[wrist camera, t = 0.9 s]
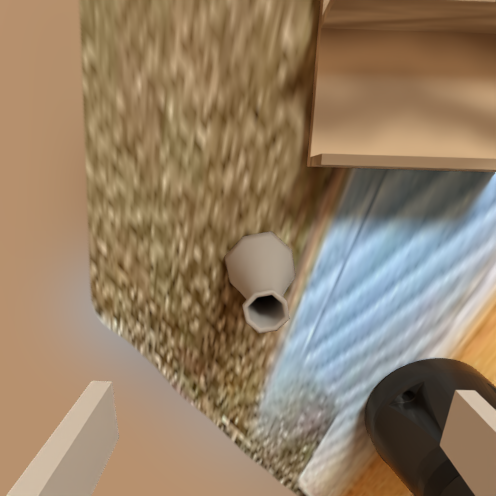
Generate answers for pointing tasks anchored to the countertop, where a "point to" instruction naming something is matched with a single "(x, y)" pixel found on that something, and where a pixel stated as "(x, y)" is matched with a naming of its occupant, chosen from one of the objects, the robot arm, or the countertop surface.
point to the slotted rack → (405, 85)
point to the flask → (262, 279)
